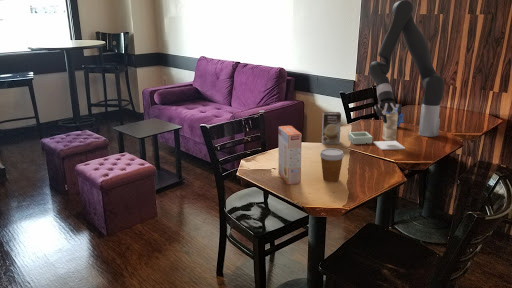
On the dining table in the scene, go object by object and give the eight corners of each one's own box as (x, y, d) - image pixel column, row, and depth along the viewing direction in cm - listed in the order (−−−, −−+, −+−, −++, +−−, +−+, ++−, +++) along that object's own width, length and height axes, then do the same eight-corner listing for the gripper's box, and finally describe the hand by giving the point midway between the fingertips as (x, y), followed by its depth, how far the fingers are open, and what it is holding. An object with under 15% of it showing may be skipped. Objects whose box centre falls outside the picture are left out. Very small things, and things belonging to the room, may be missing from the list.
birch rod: (391, 137, 202) (394, 113, 198) (395, 140, 197) (398, 115, 193) (382, 137, 202) (384, 113, 198) (385, 140, 197) (388, 115, 193)
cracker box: (301, 183, 157) (302, 133, 150) (287, 185, 156) (287, 134, 149) (291, 171, 170) (291, 124, 164) (278, 172, 169) (277, 125, 162)
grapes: (381, 125, 238) (382, 106, 234) (386, 123, 242) (387, 104, 239) (399, 128, 230) (401, 108, 227) (404, 126, 235) (406, 106, 231)
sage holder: (366, 137, 215) (366, 131, 214) (372, 143, 205) (372, 136, 204) (348, 138, 214) (348, 132, 213) (353, 143, 205) (353, 137, 204)
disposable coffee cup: (316, 175, 164) (317, 148, 161) (339, 174, 165) (340, 147, 162) (322, 184, 155) (323, 156, 152) (345, 183, 156) (347, 155, 152)
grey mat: (395, 141, 206) (395, 140, 206) (405, 149, 195) (405, 147, 195) (373, 142, 206) (373, 141, 206) (381, 149, 195) (381, 148, 194)
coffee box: (322, 144, 206) (323, 114, 201) (321, 140, 212) (322, 111, 207) (340, 144, 205) (341, 114, 200) (338, 140, 211) (339, 111, 206)
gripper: (373, 90, 200) (379, 119, 192) (401, 89, 200) (408, 118, 192) (369, 98, 206) (375, 126, 199) (396, 98, 207) (403, 126, 199)
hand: (391, 122), depth 196 cm, fingers closed on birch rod, 5 cm apart
